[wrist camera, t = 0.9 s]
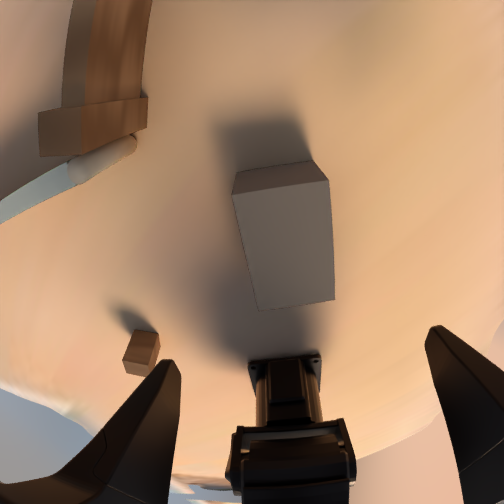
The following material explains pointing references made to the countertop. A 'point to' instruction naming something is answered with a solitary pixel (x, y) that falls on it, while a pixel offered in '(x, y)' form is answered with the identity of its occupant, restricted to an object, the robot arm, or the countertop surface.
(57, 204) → the countertop surface
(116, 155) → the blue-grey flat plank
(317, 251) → the grey rectangular block
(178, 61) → the countertop surface
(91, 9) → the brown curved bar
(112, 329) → the countertop surface
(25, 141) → the countertop surface
